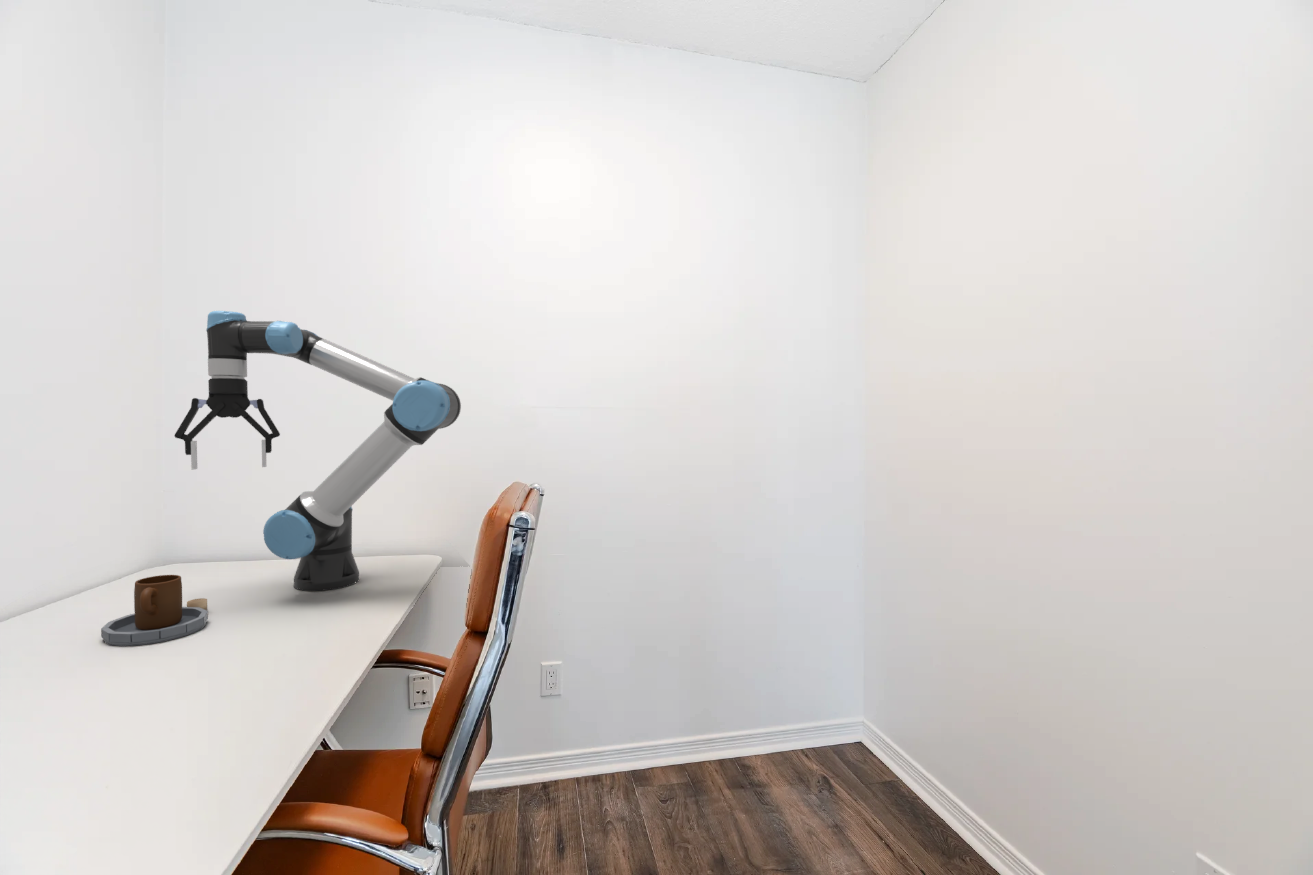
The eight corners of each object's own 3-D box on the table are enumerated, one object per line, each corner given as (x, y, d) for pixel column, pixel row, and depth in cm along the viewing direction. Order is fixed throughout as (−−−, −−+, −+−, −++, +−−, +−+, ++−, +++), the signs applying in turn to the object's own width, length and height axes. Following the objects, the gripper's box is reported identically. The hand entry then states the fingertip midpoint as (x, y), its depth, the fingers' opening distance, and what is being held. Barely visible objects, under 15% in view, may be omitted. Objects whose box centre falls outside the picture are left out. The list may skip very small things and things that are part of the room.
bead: (208, 610, 136) (208, 597, 136) (205, 615, 133) (205, 601, 133) (189, 612, 134) (188, 599, 134) (185, 617, 131) (185, 604, 131)
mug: (168, 635, 119) (168, 587, 118) (119, 640, 116) (118, 591, 115) (187, 616, 130) (186, 572, 129) (142, 620, 126) (141, 576, 126)
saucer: (213, 613, 134) (213, 602, 134) (198, 638, 120) (197, 626, 119) (118, 624, 126) (118, 613, 126) (89, 651, 112) (89, 639, 112)
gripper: (290, 380, 152) (291, 464, 153) (164, 377, 140) (166, 468, 140) (289, 379, 146) (291, 466, 146) (157, 375, 133) (159, 471, 134)
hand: (230, 468), depth 143 cm, fingers open, 13 cm apart
